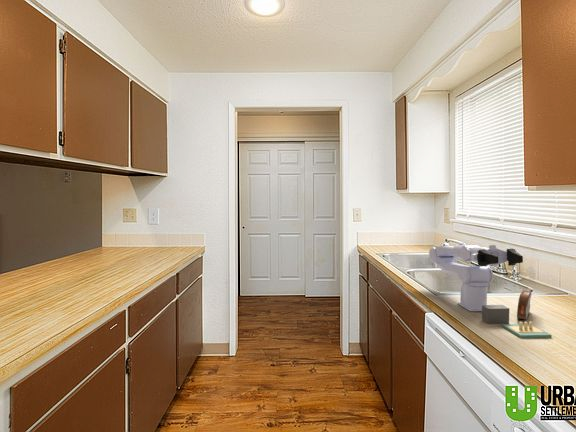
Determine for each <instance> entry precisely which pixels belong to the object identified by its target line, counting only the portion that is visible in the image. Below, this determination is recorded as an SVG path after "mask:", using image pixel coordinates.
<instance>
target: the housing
mask: <svg viewBox="0 0 576 432" xmlns="http://www.w3.org/2000/svg"><path fill="white" fill-rule="evenodd" d="M481 321H483V322H485V324H488V325H495V324H496V325H500V324H501V325H502V324H510V308H509V307H507V306H505V305H503V304H487V305H482V311H481Z"/></svg>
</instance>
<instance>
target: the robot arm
mask: <svg viewBox="0 0 576 432" xmlns="http://www.w3.org/2000/svg"><path fill="white" fill-rule="evenodd" d="M428 255H429V259H430V261H431V263H432V264H435V265H436V266H437V267H439V269H441V271H442V272H443V273H446V274H449V275H452V276H455V277H458V280H460V281H461V282H462V284H461V286H460V298H459V299H460V301H459V302H457V304H458V305H459V306H461V307H463V308H464V309H466V310H467V311H469V312H482V305H488V303H487V302H488V287H489V286H490V284H491V283H492V282H493V281H494V272H493V269H492V268H491V267H496V266H499V265H502V264H504V263H506V262H507V265H508V266H509V267H510V266H511V267H512V266H515V265H517V264H522V263H524V256H523V255H522V254H519V253H518V252H517V250H516V249H515V248H506V251H505V250H502V249H500V248H498V247H497V245H496V244H489V245H488V247H485V246H481V245H478V244H477V245H471V244H469V243H466V244H464V243H463V242H458V244H455V245H439V246H431V247H430V249H429V252H428ZM458 259H460V260H463V262H475V263H477V265H478V266H470V265H466V264H462V263H458ZM490 266H491V267H490Z"/></svg>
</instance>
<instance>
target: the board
mask: <svg viewBox="0 0 576 432" xmlns="http://www.w3.org/2000/svg"><path fill="white" fill-rule="evenodd" d="M533 323H534V322H533V321H529V323H528V321H524V322H523V321H519V322H518V323H509V324H501V327H502V328H503V329H505V330H506V331H508V332H510V333H512V334H513V335H515V336H517V337H518V338H520V339H538V338H539V339H543V338H544V339H547V338H549V339H550V338H552V334H551V333H548V332H546V331H545V330H543V329H541V328H539V327H537V326H536V325H533Z"/></svg>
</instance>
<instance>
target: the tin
mask: <svg viewBox="0 0 576 432" xmlns="http://www.w3.org/2000/svg"><path fill="white" fill-rule="evenodd" d="M531 299H532V291H529V290H524V289H522V290H521V292H520V294H519V298H518V302H517V311H516V319H520V320H527V319H528V317H529V314H530V310H531Z"/></svg>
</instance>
